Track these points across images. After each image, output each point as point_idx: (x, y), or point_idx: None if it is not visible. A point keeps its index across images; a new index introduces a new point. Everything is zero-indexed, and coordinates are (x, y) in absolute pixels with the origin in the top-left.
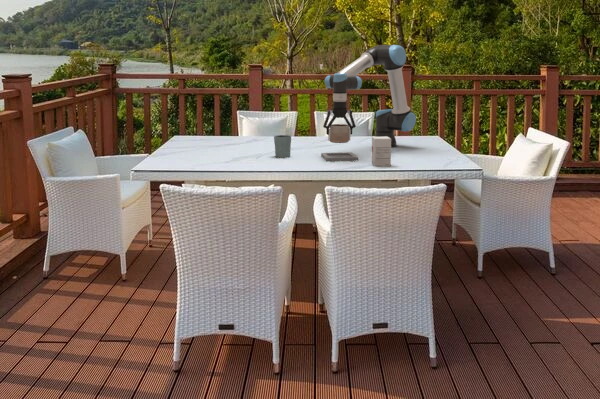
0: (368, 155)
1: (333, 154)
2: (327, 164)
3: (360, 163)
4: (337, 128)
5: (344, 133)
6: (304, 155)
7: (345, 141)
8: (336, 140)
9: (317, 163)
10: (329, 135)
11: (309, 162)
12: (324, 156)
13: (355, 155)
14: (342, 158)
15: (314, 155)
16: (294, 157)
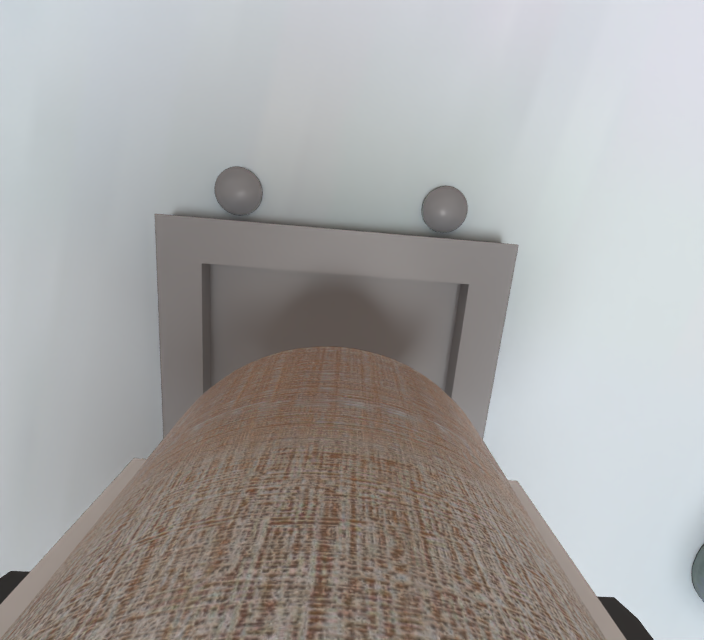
0: (21, 494)
1: None
2: (556, 42)
3: (183, 16)
4: (513, 613)
5: (223, 444)
6: None
7: (247, 365)
8: (423, 379)
9: (629, 139)
10: (559, 559)
11: (676, 222)
12: (495, 361)
13: (165, 335)
14: (339, 229)
15: None
16: (682, 512)
